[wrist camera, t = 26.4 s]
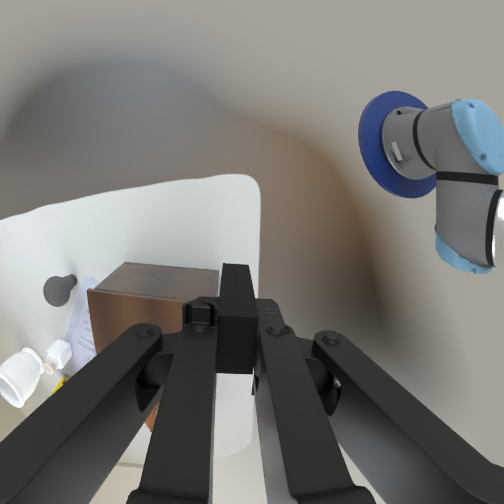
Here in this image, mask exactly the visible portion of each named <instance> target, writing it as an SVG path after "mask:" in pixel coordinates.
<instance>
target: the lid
mask: <svg viewBox="0 0 504 504" xmlns="http://www.w3.org/2000/svg"><path fill="white" fill-rule="evenodd" d="M87 297H88V305H89V313H90V320H91V326H92V332H93V338H94V343H95V348H96V353H97V355H98V354H99V353H100V352H101V351H102V350H103V349H105V348H106V347H107V346H108V345H109V344H110V343H112V342H113V341H114V340H115V339H116V338H117V337H119V336H120V335H121V334H122V333H123V332H124V331H126V330H127V329H128V328H129V327H131V326H133V325H135V324H139V323H151V324H155V325H157V326H159V327H160V328H161V330H162V334H167V333H175V332H178V331H181V329H182V326H183V323H182V305H183V304H184V303H185V302H188V301H191V300H183V299H172V298H162V297H153V296H144V295H135V294H126V293H118V292H111V291H103V290H96V289H88V290H87Z"/></svg>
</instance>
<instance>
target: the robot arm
mask: <svg viewBox="0 0 504 504" xmlns="http://www.w3.org/2000/svg"><path fill="white" fill-rule="evenodd" d="M380 144H381V148H382V152H383V154H384V157H385V159H386V161H387V162H388V164H389V165H390V167H391V168H392V169H393V170H394V171H395V172H396V173H397V174H398V175H400V176H401V177H403V178H406V179H410V180H420V179H424V178H427V177H429V176H431V175H433V174H435V173H436V200H437V201H436V224H435V232H436V242H435V245H436V246H435V247H436V251H437V252H438V255H439V256H440V257H441V259H442V260H444V261H445V262H446V263H448V264H449V265H451V266H453V267H455V268H457V269H459V270H462V271H465V272H469V273H470V272H473V273H475V274H487V273H488V272H490V271H491V270H492V268H493V267H497V268H500V267H502V266H503V265H504V190H499V186H497V185H498V175H500V174H502V173H503V172H504V129H503V126H502V125H501V122H500V120H499V119H498V118H497V116H496V114H495V113H494V112H493V110H492V109H491V108H490V107H489V106H488V105H486V104H485V103H484V102H482V101H480V100H478V99H466V100H455V101H453V102H450V103H447V104H443V105H439V106H435V107H432V108H428V109H425V110H424V109H419V108H413V107H399V108H396V109H394V110H392V111H390V112H389V113H388V114H387V115H386V116H385V118H384V119H383V121H382V124H381V128H380ZM444 180H447V181H444ZM458 181H461V182H458ZM469 182H471V183H469ZM182 323H183V326H182V329H181V331H178V332H175V333H167V334H162V330H161V328H160V327H159V326H157V325H155V324H151V323H139V324H135V325H133V326H131V327H129V328H128V329H127V330H126V331H124V332H123V333H122V334H121V335H120V336H119V337H117V338H116V339H115V340H114V341H113V342H112V343H110V344H109V345H108V346H107V347H106V348H105V349H103V350H102V351H101V352H100V353H99V354H98V355H97V356H95V357H94V358H93V359H92V360H91V361H90V362H88V363H87V364H86V365H85V366H84V367H83V368H82V369H81V370H79V371H78V372H77V373H76V374H75V375H74V376H73V377H71V378H70V379H69V380H68V381H67V382H66V383H65V384H64V385H62V386H61V387H60V388H59V389H58V390H57V391H56V392H55V393H53V394H52V395H51V396H50V397H49V398H48V399H47V400H46V401H45V402H44V403H42V404H41V405H40V406H39V407H38V408H37V409H36V410H35V411H34V412H33V413H31V414H30V415H29V416H28V417H27V418H26V419H25V420H24V421H23V422H22V423H21V424H20V425H19V426H17V427H16V428H15V429H14V430H13V431H12V432H11V433H10V434H9V435H8V436H7V437H6V438H5V439H4V440H3V441H1V442H0V504H89V503H90V501H91V500H92V498H93V497H94V496H95V494H96V493H97V491H98V490H99V488H100V487H101V485H102V484H103V482H104V481H105V479H106V478H107V477H108V475H109V473H110V472H111V471H112V469H113V468H114V466H115V465H116V463H117V462H118V460H119V459H120V457H121V456H122V455H123V453H124V452H125V450H126V449H127V447H128V446H129V444H130V443H131V441H132V440H133V438H134V437H135V435H136V434H137V432H138V431H139V429H140V428H141V426H142V425H143V424H144V422H145V421H146V419H147V418H148V416H149V415H150V413H151V412H152V410H153V409H154V407H155V406H156V404H157V403H158V401H159V400H160V398H161V400H160V404H159V408H158V411H157V415H156V419H155V423H154V427H153V431H152V435H151V439H150V443H149V447H148V451H147V455H146V459H145V463H144V468H143V472H142V477H141V481H140V485H139V487H138V489H136V490H133V491H132V492H131V493H130V495H129V496H128V500H127V502H126V504H212V493H213V491H212V490H213V489H212V488H213V448H214V420H215V397H216V373H227V374H253V366H254V378H253V386H252V394H251V395H255V404H256V413H257V422H258V430H259V438H260V447H261V455H262V463H263V471H264V479H265V487H266V494H267V503H268V504H376V502H375V500H374V497H373V496H372V494H371V492H370V491H369V490H368V489H367V488H366V487H362V486H356V485H355V484H354V483H353V481H352V479H351V477H350V474H349V472H348V469H347V466H346V464H345V461H344V458H343V456H342V453H341V450H340V448H339V445H338V443H339V444H340V445H341V447H342V448H343V449H344V451H345V452H346V453H347V455H348V456H349V457H350V459H351V460H352V461H353V463H354V464H355V465H356V466H357V468H358V469H359V470H360V472H361V473H362V474H363V475H364V477H365V478H366V479H367V481H368V482H369V483H370V484H371V486H372V487H373V488H374V489H375V491H376V492H377V493H378V494H379V496H380V497H381V498H382V499H383V500H384V502H385V503H386V504H504V468H503V467H501V466H498V465H495V464H493V463H491V462H489V461H488V460H487V459H486V458H484V457H483V456H482V455H481V454H480V453H479V452H478V451H477V450H475V449H474V448H473V447H472V446H471V445H470V444H468V443H467V442H466V441H465V440H464V439H463V438H461V437H460V436H459V435H458V434H457V433H456V432H454V431H453V430H452V429H451V428H450V427H449V426H447V425H446V424H445V423H444V422H443V421H442V420H441V419H439V418H438V417H437V416H436V415H435V414H434V413H432V412H431V411H430V410H429V409H428V408H427V407H426V406H424V405H423V404H422V403H421V402H420V401H419V400H417V399H416V398H415V397H414V396H413V395H412V394H411V393H409V392H408V391H407V390H406V389H405V388H403V387H402V386H401V385H400V384H399V383H398V382H397V381H396V380H394V379H393V378H392V377H391V376H390V375H389V374H387V373H386V372H385V371H384V370H383V369H382V368H381V367H379V366H378V365H377V364H376V363H375V362H374V361H372V360H371V359H370V358H369V357H368V356H367V355H366V354H364V353H363V352H362V351H361V350H360V349H359V348H358V347H356V346H355V345H354V344H353V343H352V342H351V341H350V340H348V339H347V338H346V337H345V336H343V335H342V334H340V333H337V332H335V331H321V332H318V333H316V334H315V335H314V340H308V339H303V338H299V337H296V336H295V333H294V331H293V329H292V328H291V327H289V326H288V325H286V324H285V323H284V320H283V318H282V315H281V312H280V310H279V307H278V304H277V303H276V302H275V301H273V300H272V299H255V295H254V290H253V285H252V280H251V275H250V270H249V265H242V264H226V263H223V268H222V277H221V286H220V295H219V297H208V296H199V297H198V298H196V299H195V300H191V301H188V302H185V303H184V304H183V305H182ZM337 380H338V381H339V382H340V384H341V386H339V385H337V383H336V381H337ZM337 442H338V443H337Z"/></svg>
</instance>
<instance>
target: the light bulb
mask: <svg viewBox="0 0 504 504" xmlns="http://www.w3.org/2000/svg"><path fill="white" fill-rule="evenodd" d="M76 283H77V279H76V277H75V276H74V275H72V274H71V275H69V276H65V277H63V278H62V277H58V276H54V277H51V278H49V279H48V280H47V281H46V283H45V285H44V289H43V292H44V297H45V299H46V301H47V302H48V303H49V304H50V305H52V306H55V307H60V306H63V305H65V304H66V303H67V301H68V300H69V297H70V291H71V290H72V289H73V287H74V286H75V285H76Z"/></svg>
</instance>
